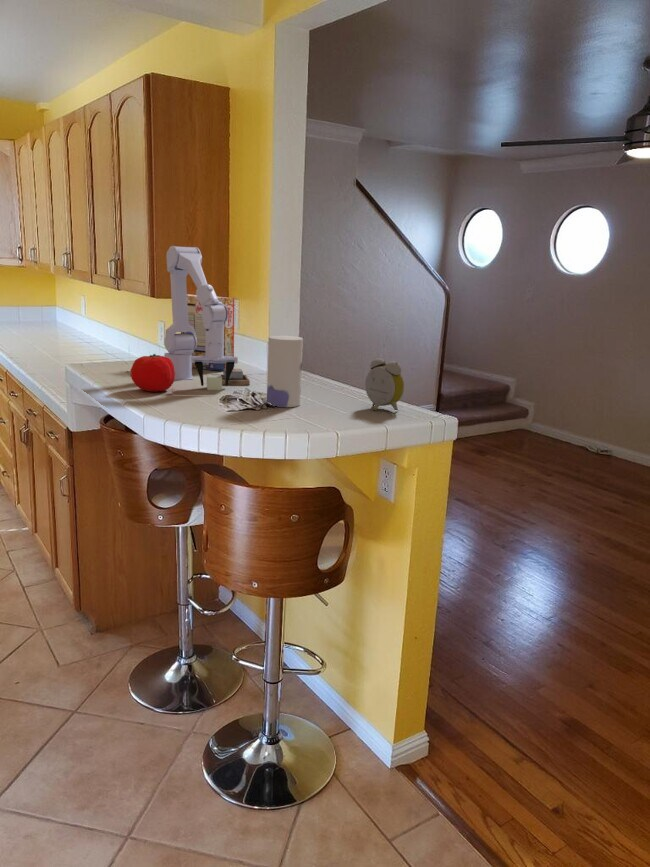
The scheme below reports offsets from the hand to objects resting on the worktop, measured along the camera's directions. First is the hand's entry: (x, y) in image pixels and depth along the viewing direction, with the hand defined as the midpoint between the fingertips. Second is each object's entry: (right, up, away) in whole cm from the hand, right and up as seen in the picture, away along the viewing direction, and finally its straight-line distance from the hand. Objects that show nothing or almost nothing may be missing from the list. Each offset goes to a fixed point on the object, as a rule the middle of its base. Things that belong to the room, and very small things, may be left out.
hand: (214, 385), depth 214 cm
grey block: (+4, +2, +12) cm, 13 cm away
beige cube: (0, -1, 0) cm, 2 cm away
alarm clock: (+52, -9, -16) cm, 55 cm away
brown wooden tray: (+3, +2, +12) cm, 13 cm away
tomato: (-18, -2, -6) cm, 19 cm away
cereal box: (-9, +9, +38) cm, 40 cm away
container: (+23, -7, -15) cm, 28 cm away
